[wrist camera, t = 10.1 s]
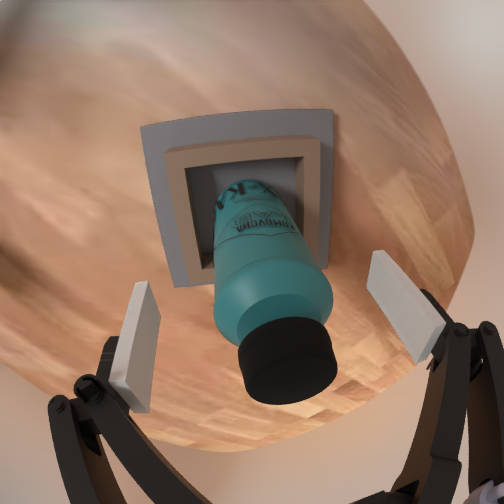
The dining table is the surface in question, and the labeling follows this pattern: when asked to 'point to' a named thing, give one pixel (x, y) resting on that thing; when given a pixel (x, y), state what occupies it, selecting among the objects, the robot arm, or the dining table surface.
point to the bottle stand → (237, 178)
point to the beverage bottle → (270, 296)
